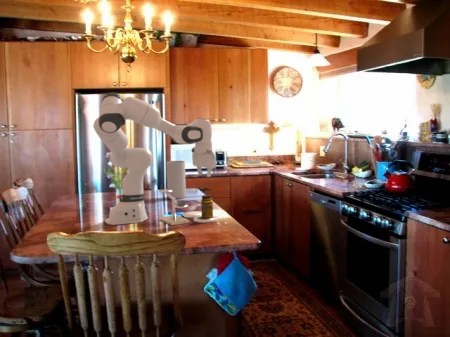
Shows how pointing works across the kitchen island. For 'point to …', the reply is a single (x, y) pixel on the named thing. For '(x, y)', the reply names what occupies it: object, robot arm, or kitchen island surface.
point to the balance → (174, 219)
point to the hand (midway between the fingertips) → (204, 175)
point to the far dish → (192, 214)
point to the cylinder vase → (176, 179)
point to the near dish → (206, 220)
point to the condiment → (206, 207)
